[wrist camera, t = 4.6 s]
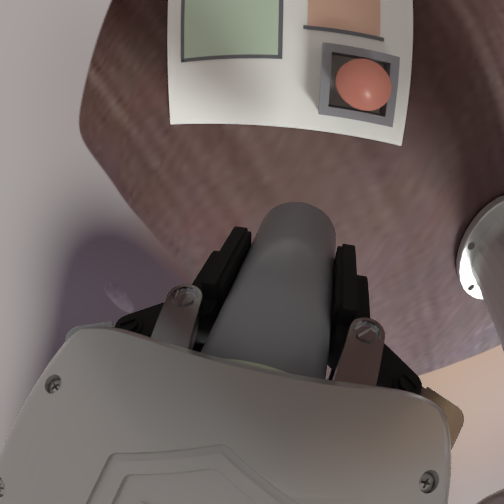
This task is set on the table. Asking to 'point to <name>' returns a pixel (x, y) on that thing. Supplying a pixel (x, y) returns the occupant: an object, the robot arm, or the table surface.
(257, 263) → the cylinder
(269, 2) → the picture board
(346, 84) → the button
